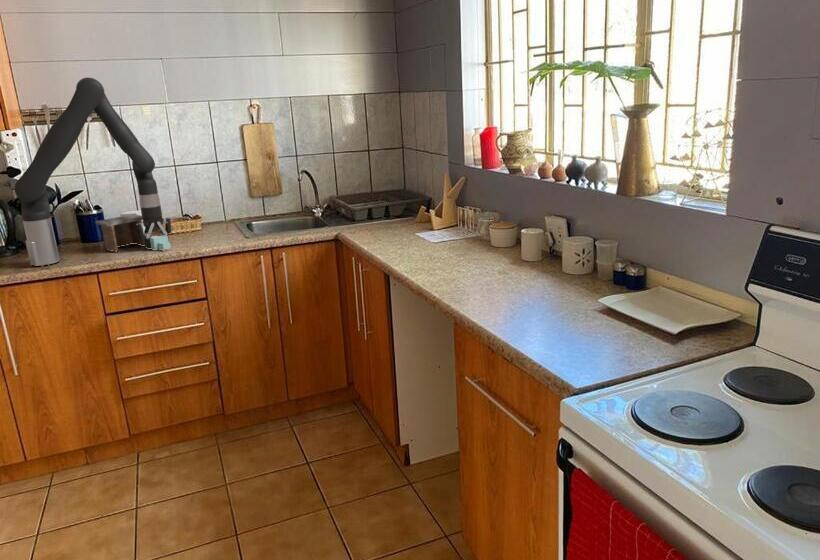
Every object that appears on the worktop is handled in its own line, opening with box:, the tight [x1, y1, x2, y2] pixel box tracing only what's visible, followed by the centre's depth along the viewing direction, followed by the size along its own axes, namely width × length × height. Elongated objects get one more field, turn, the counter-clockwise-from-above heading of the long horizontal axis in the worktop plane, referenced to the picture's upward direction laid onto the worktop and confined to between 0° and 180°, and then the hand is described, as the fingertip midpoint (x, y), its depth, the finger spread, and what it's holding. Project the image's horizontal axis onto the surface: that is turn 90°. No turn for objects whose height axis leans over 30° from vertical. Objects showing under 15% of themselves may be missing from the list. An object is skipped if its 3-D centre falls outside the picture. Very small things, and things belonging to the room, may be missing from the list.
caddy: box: [145, 233, 172, 249], centre depth 264 cm, size 12×6×5 cm, turn 48°
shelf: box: [94, 215, 145, 252], centre depth 267 cm, size 16×10×12 cm, turn 138°
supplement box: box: [119, 209, 145, 232], centre depth 281 cm, size 7×7×13 cm
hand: (157, 246), depth 265 cm, fingers open, 6 cm apart
